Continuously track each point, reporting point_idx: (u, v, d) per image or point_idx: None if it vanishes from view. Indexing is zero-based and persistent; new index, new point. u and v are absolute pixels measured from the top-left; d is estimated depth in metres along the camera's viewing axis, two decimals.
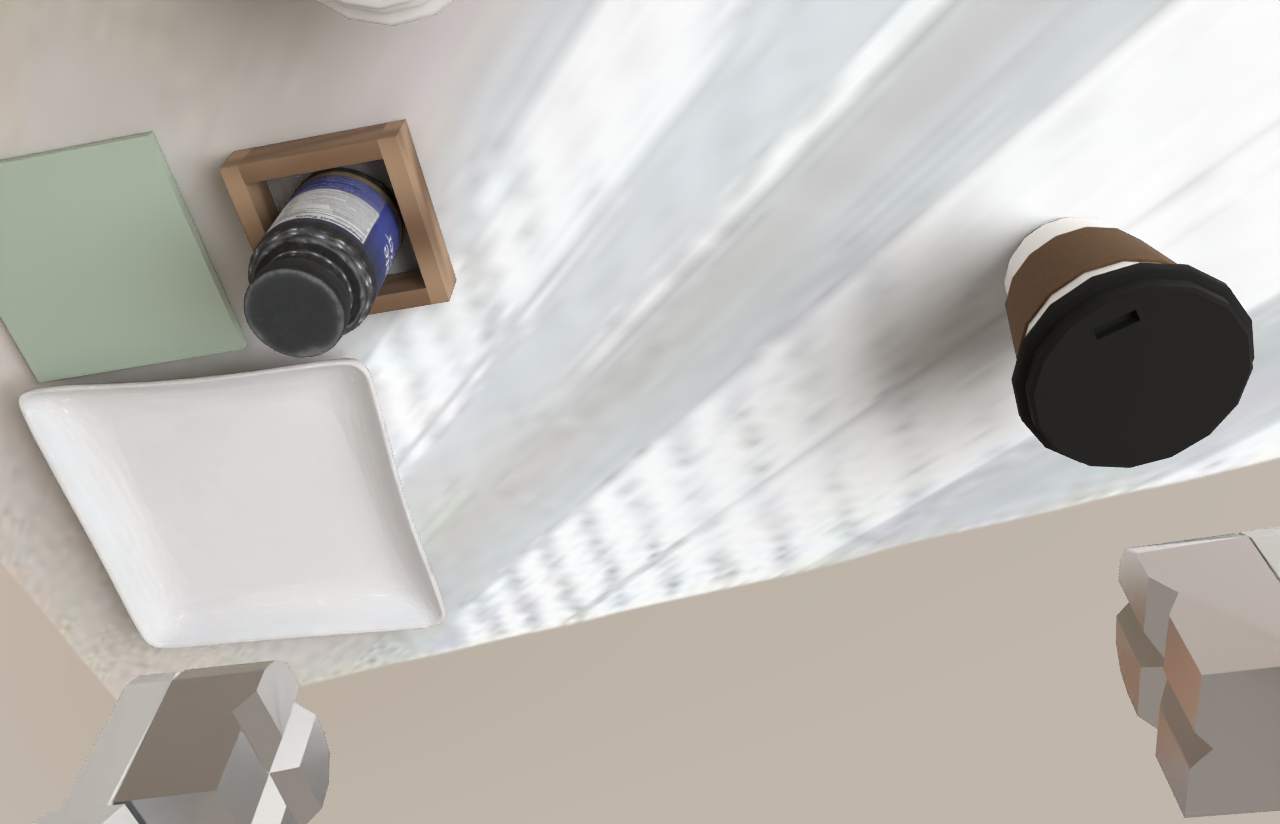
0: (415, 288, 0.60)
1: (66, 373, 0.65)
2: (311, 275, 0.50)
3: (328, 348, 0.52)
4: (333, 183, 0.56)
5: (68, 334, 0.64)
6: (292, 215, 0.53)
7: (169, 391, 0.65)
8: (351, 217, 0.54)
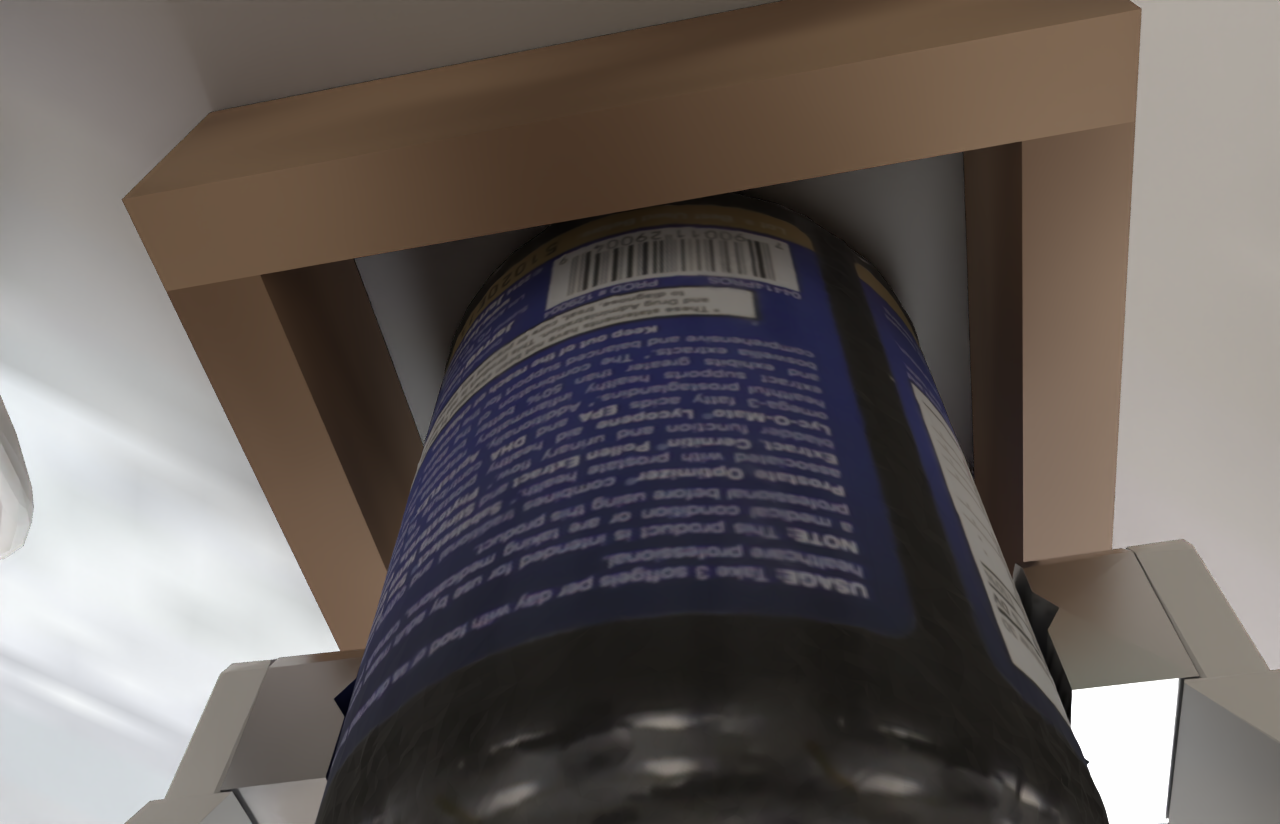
0: None
1: None
2: None
3: None
4: None
5: None
6: None
7: None
8: None
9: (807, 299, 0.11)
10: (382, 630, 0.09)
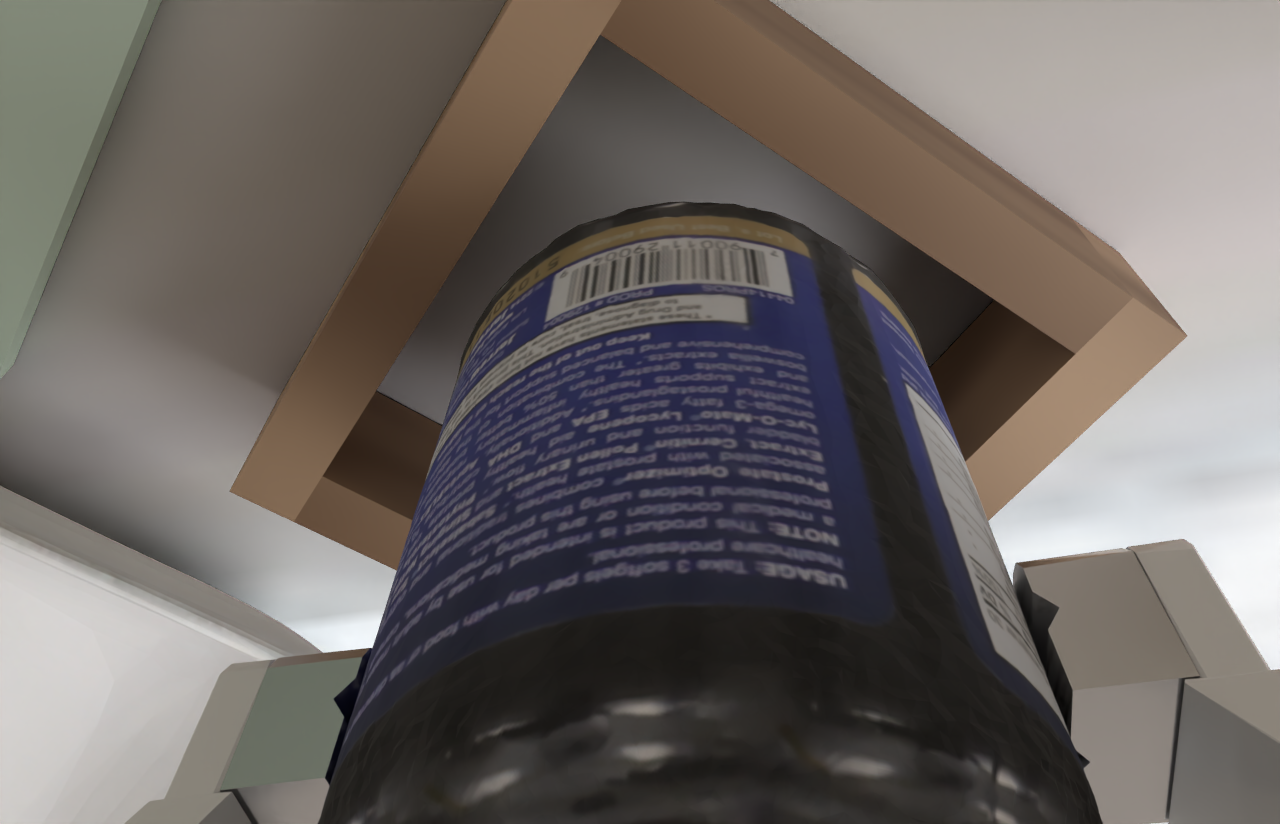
0: None
1: None
2: None
3: None
4: None
5: None
6: None
7: None
8: None
9: (800, 304, 0.11)
10: (384, 633, 0.09)
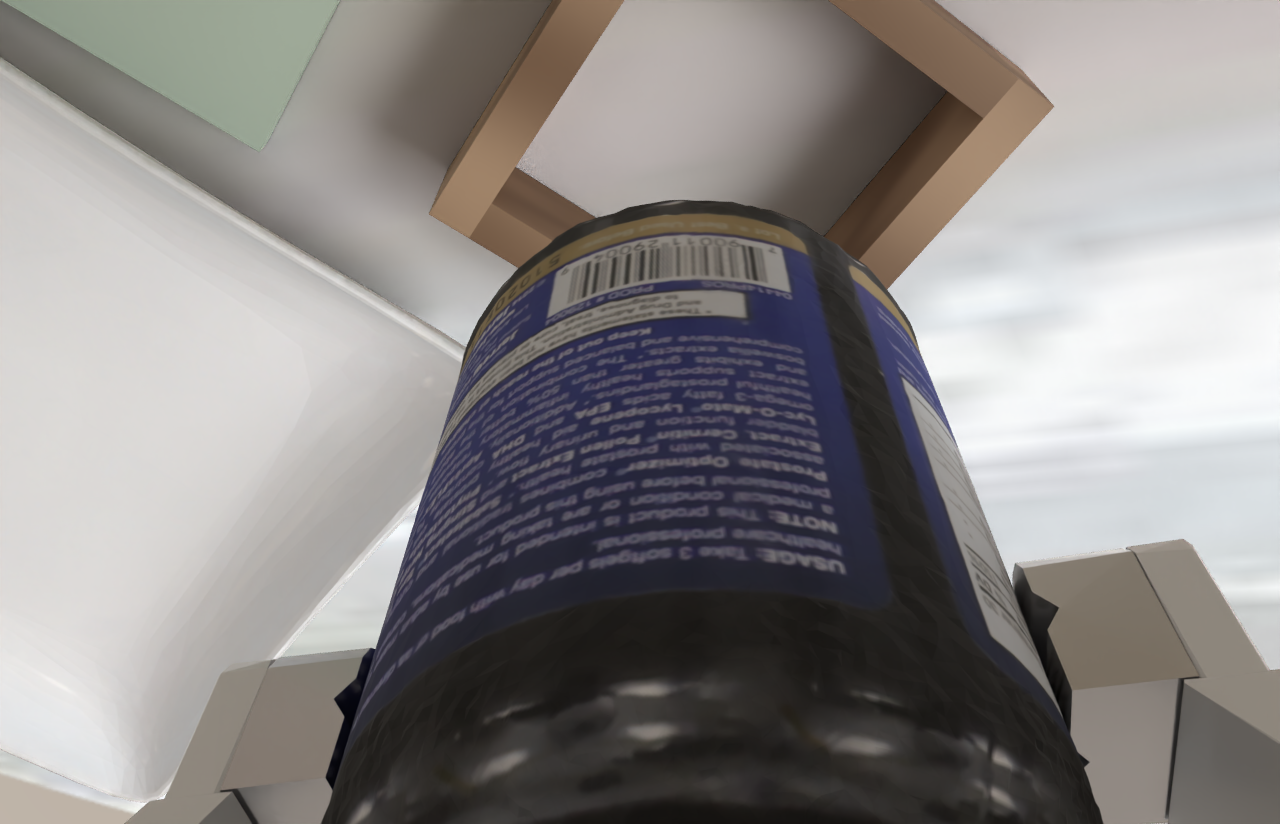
0: None
1: None
2: None
3: None
4: None
5: None
6: None
7: (4, 96, 0.24)
8: None
9: (798, 300, 0.11)
10: (391, 622, 0.09)
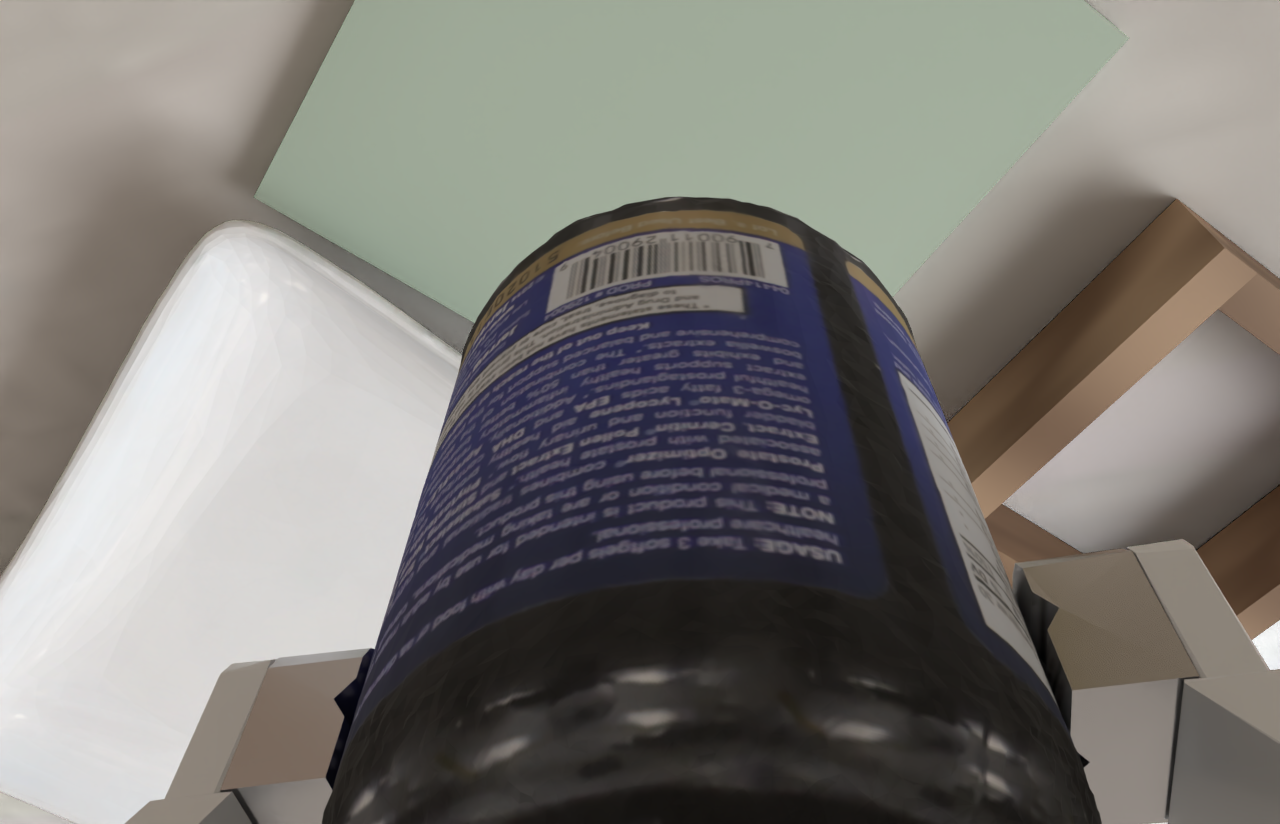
0: None
1: (340, 233, 0.24)
2: None
3: None
4: None
5: (448, 180, 0.24)
6: None
7: None
8: None
9: (795, 295, 0.11)
10: (392, 614, 0.09)
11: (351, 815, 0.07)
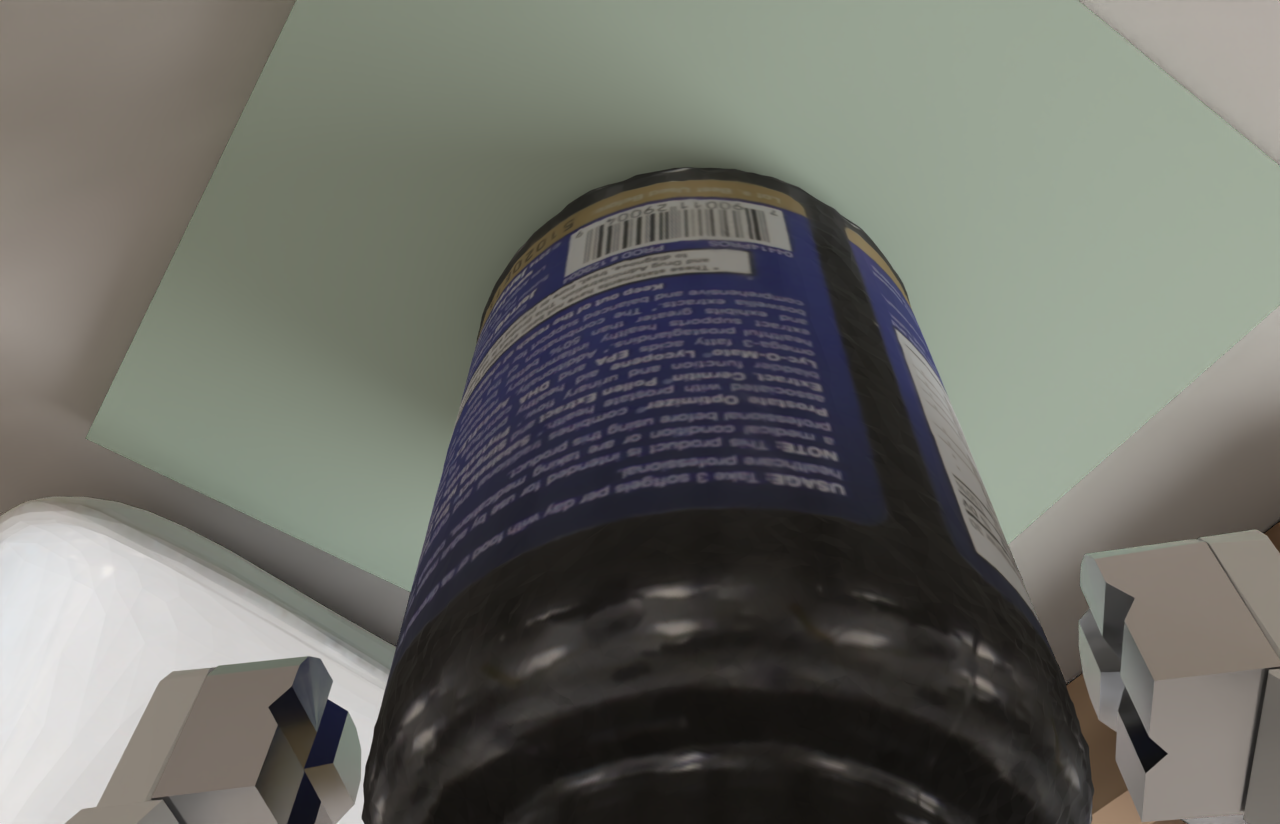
0: None
1: (212, 482, 0.17)
2: None
3: None
4: None
5: (361, 417, 0.17)
6: None
7: None
8: None
9: (799, 258, 0.12)
10: (430, 551, 0.10)
11: (403, 724, 0.08)
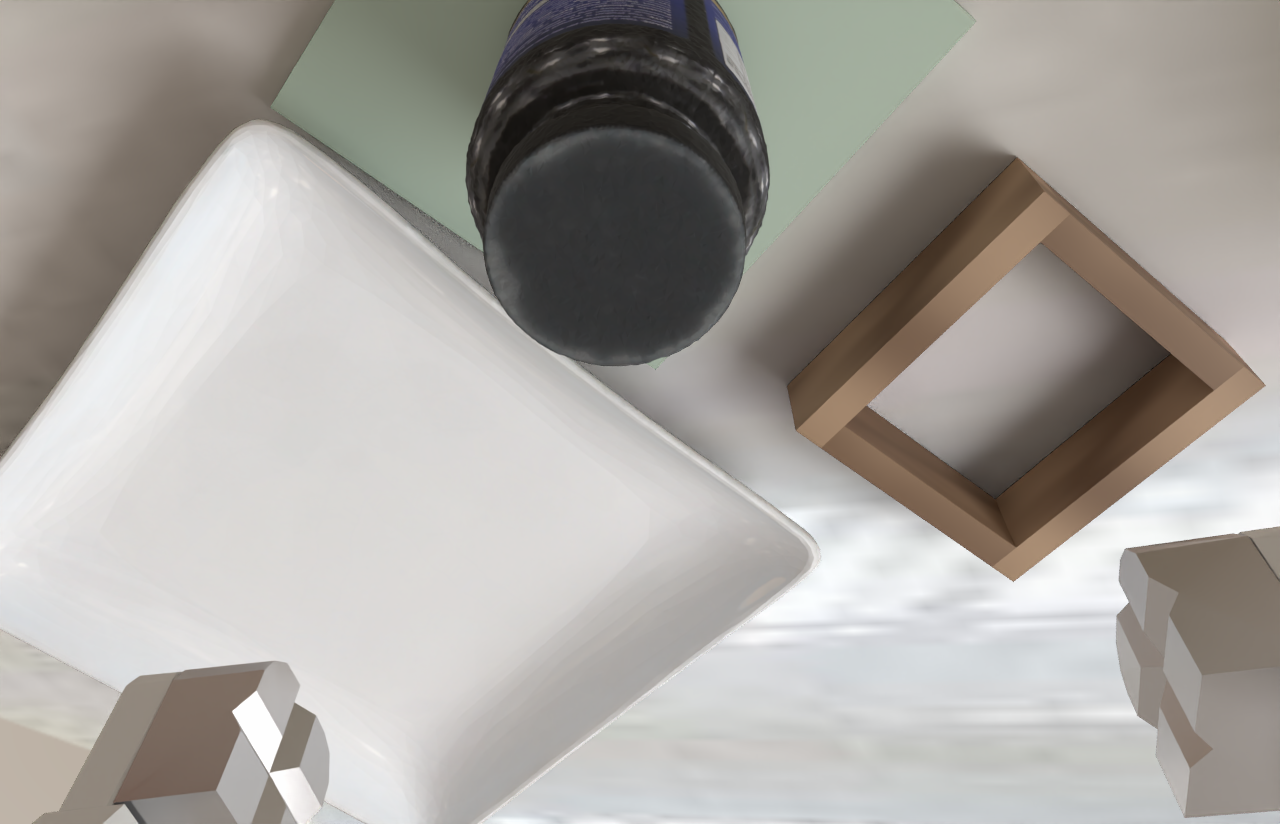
0: (1000, 535, 0.35)
1: (340, 142, 0.30)
2: (724, 311, 0.20)
3: (515, 318, 0.20)
4: None
5: (432, 102, 0.29)
6: None
7: (488, 328, 0.32)
8: None
9: None
10: (496, 75, 0.23)
11: (492, 103, 0.21)
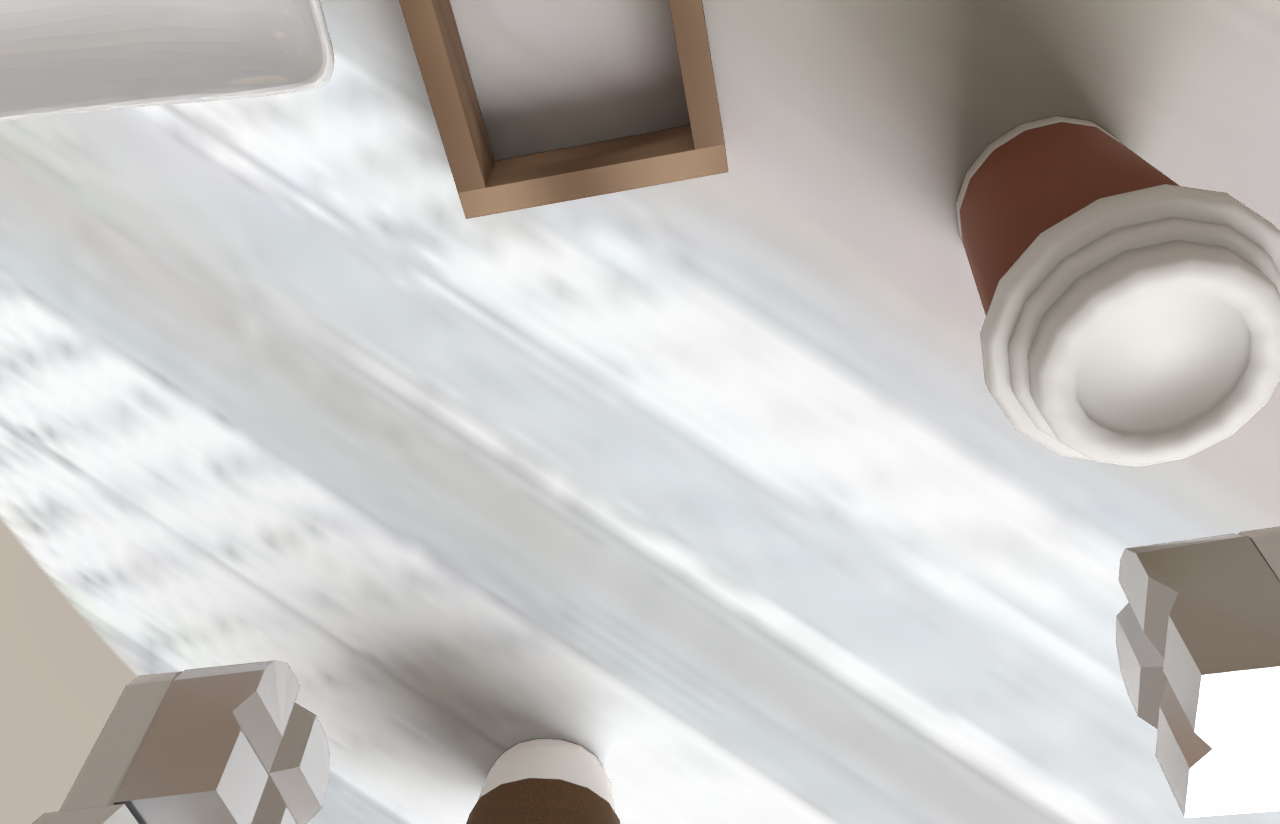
0: (481, 169, 0.38)
1: None
2: None
3: None
4: None
5: None
6: None
7: None
8: None
9: None
10: None
11: None
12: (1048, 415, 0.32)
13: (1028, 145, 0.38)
